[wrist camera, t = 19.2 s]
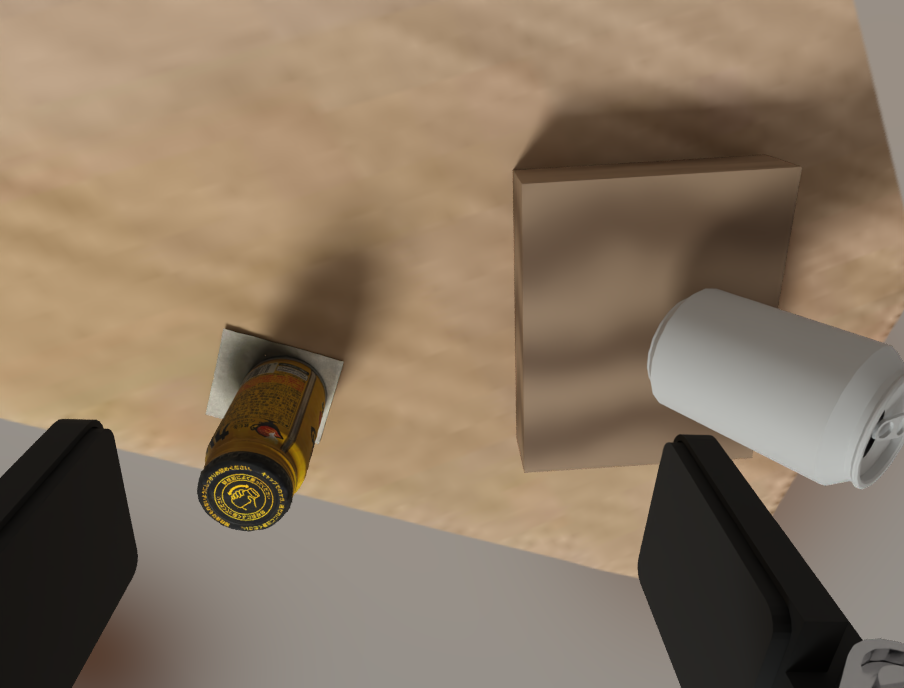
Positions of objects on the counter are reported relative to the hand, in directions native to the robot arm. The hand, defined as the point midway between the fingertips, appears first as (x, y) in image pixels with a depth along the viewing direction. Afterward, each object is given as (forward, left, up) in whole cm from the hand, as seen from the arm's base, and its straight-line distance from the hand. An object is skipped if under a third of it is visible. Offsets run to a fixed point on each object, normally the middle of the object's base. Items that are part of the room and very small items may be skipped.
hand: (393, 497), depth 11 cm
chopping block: (+9, +15, -33) cm, 37 cm away
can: (+9, +16, -26) cm, 32 cm away
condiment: (+16, -10, -33) cm, 38 cm away
